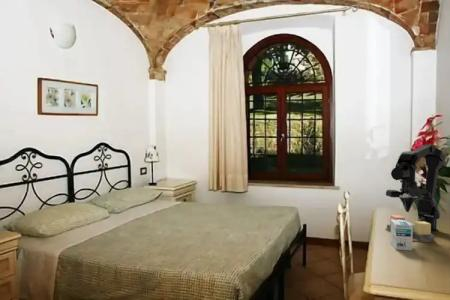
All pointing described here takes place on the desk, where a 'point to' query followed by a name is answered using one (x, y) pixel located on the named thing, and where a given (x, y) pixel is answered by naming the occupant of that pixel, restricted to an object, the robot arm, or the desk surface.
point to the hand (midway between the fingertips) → (407, 211)
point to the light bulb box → (401, 234)
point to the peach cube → (396, 217)
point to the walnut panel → (417, 236)
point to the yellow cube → (422, 228)
